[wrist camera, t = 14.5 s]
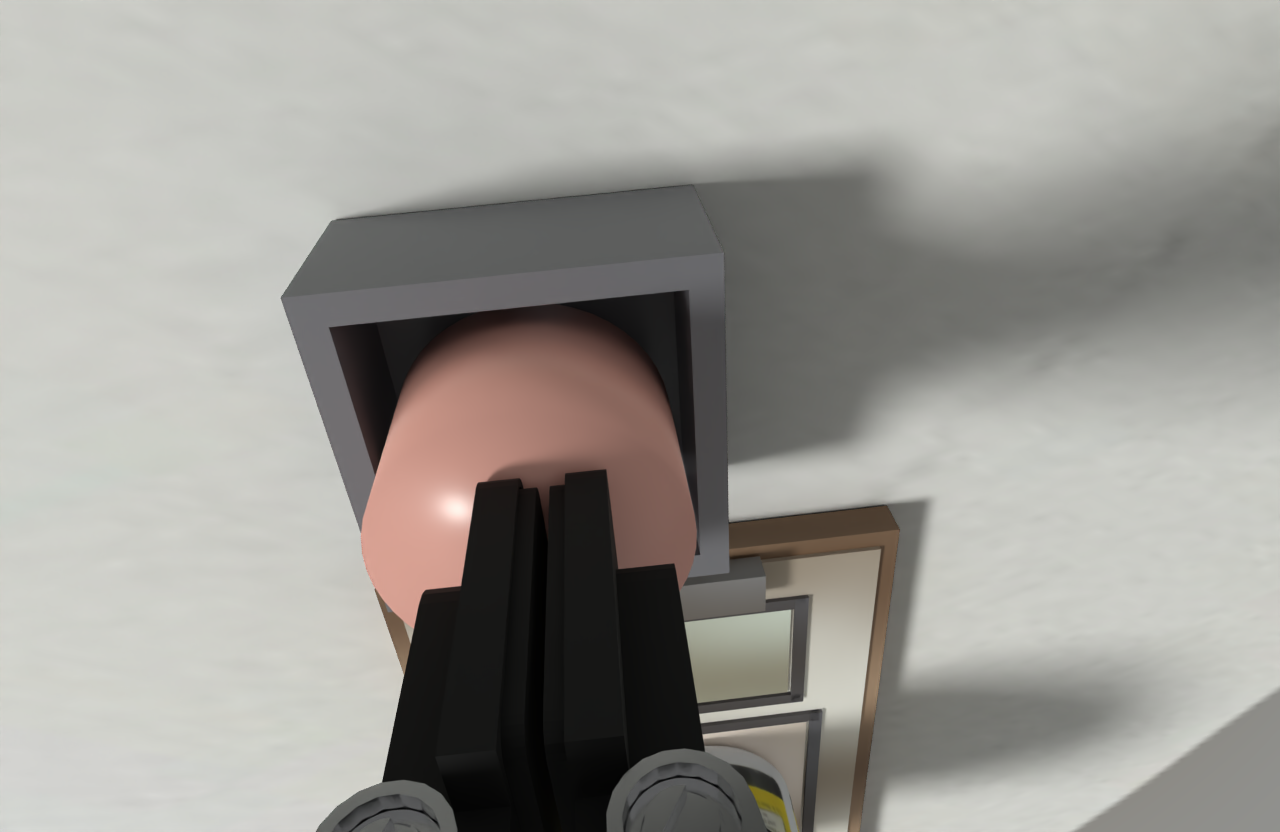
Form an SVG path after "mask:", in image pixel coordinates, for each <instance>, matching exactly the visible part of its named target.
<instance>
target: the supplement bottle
mask: <svg viewBox="0 0 1280 832" xmlns="http://www.w3.org/2000/svg"><path fill="white" fill-rule="evenodd" d="M704 747H705V752H707V753H709V754H712V755H714V756H716V757H718V758H720V759H722V760H724V761H726V762H728V763H729V764H730V765H731V766H732V767H733V768H734V769H735V770H736V771H737V772H738V773H739V774H740V775H742V776H743V777H744V779H745V781H746V783H747V784H748V786H749V788H750V790H751V791H752V793H753V795H754V797H755V799H756V802H757V804H758V807H759V810H760V812H761V815H762V818H763V820H764V823H765V826H766V828H767V829H769V830H770V831H771V832H799V829H798V825H797V821H796V818H795V814H794V810H793V805H792V801H791V797H790V794H789V791H788V788H787V785H786V782H785V780H784V778H783V777H782V775H781V774H780V772H779V771H778V770H777V769H776V768H775V767H774V766H772V765H771V764H770V763H769V762H767V761H766V760H764V759H763V758H761V757H759V756H758V755H756V754H754V753H751V752H748V751H745V750H742V749H739V748H734V747H728V746H704Z"/></svg>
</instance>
